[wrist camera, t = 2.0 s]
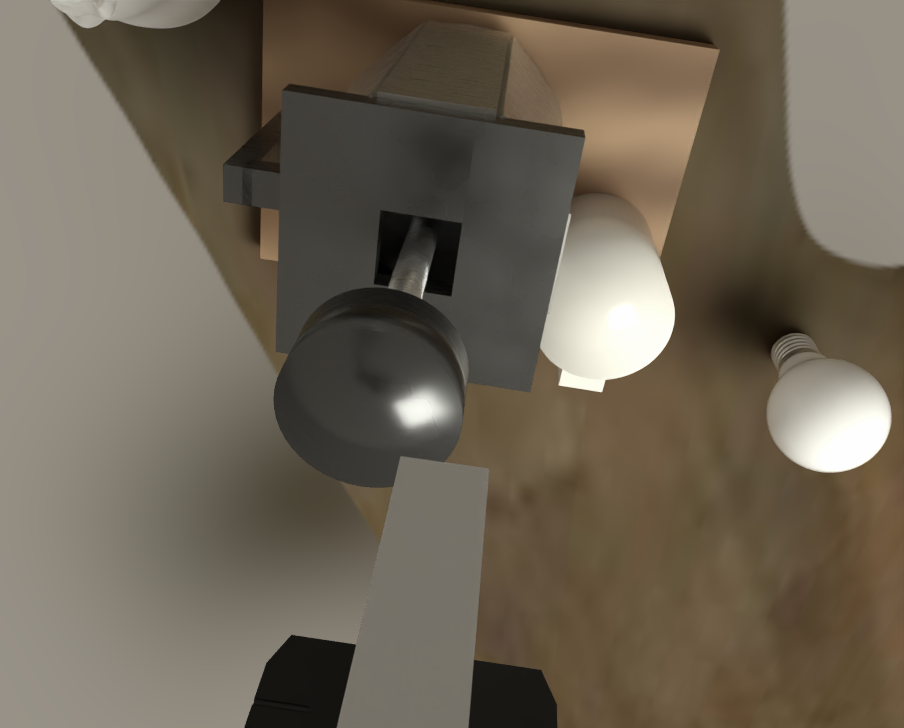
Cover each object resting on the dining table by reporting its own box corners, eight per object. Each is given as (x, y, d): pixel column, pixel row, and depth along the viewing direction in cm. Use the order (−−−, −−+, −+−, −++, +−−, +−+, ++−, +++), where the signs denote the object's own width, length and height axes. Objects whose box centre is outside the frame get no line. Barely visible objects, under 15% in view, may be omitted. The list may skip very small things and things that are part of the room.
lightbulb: (717, 356, 54) (756, 459, 44) (788, 283, 51) (846, 377, 41) (791, 404, 55) (844, 513, 46) (864, 335, 52) (937, 438, 43)
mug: (545, 184, 47) (547, 245, 40) (666, 203, 47) (692, 268, 40) (519, 315, 52) (516, 393, 44) (630, 333, 52) (646, 414, 44)
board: (271, -25, 44) (263, -22, 43) (714, 44, 44) (719, 49, 43) (267, 248, 53) (260, 258, 51) (639, 308, 52) (642, 318, 51)
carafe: (308, -3, 43) (182, 68, 28) (572, 39, 43) (592, 132, 28) (301, 193, 49) (192, 342, 33) (534, 230, 49) (533, 397, 33)
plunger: (350, 78, 35) (205, 240, 20) (547, 109, 35) (557, 296, 19) (338, 259, 39) (212, 508, 24) (513, 287, 39) (499, 554, 24)
